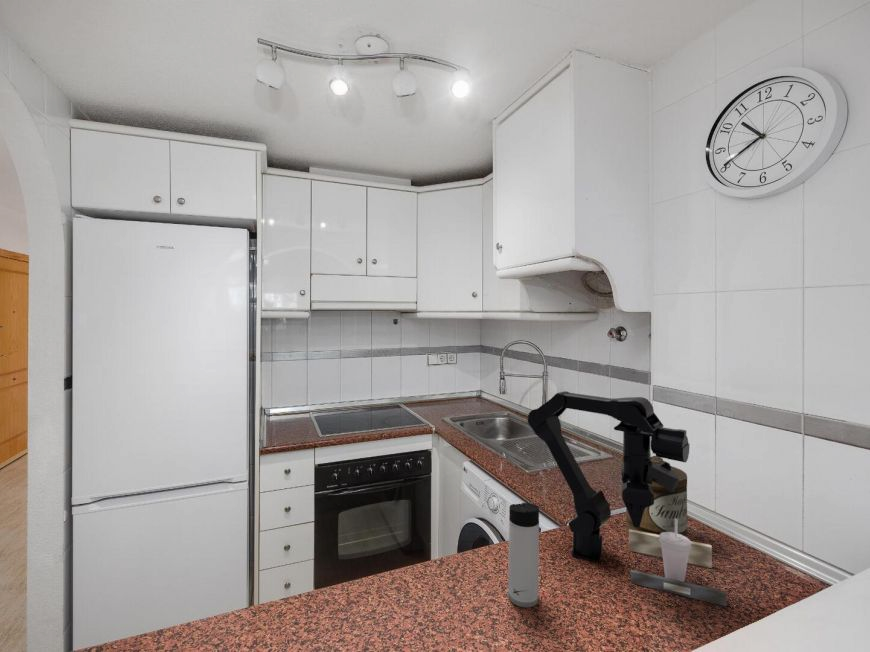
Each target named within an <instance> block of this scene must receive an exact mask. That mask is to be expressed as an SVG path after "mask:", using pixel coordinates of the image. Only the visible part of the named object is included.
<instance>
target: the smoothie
mask: <svg viewBox="0 0 870 652" xmlns="http://www.w3.org/2000/svg"><path fill="white" fill-rule="evenodd" d="M677 530H678V519H676V518H675V533H674V532H663V533H661V534H660V535H659V540H660V542H661V547H662V555H663V558H662V563H663V570H664V577H665V578H670V579H674V580H678V581H683V582H685V579H686V573H687V568H688V567H687V566H688V563H687V562H688V556H689V549H691V539H690V538H688V537H685V536H683V535H681V534H678V533H677Z"/></svg>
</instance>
